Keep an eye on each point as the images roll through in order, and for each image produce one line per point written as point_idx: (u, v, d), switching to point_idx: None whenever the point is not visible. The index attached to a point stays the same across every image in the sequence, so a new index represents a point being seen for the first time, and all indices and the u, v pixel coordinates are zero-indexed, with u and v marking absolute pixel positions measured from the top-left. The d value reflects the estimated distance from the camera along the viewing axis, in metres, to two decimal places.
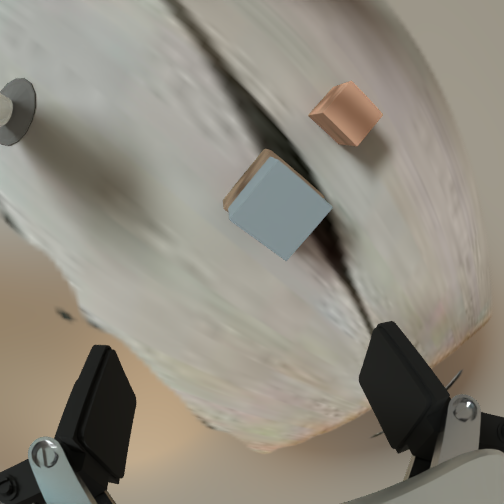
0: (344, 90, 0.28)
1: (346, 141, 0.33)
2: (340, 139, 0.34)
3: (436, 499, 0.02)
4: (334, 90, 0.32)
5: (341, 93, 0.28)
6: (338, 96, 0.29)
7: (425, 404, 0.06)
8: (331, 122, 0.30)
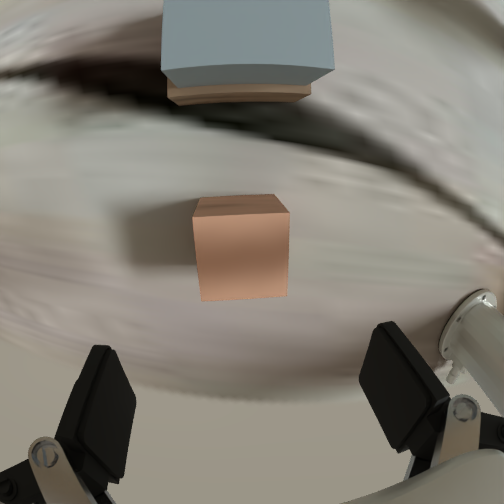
0: (285, 274, 0.19)
1: (206, 209, 0.19)
2: (212, 204, 0.20)
3: (436, 499, 0.02)
4: None
5: (286, 266, 0.19)
6: (286, 257, 0.19)
7: (425, 404, 0.06)
8: (261, 212, 0.18)
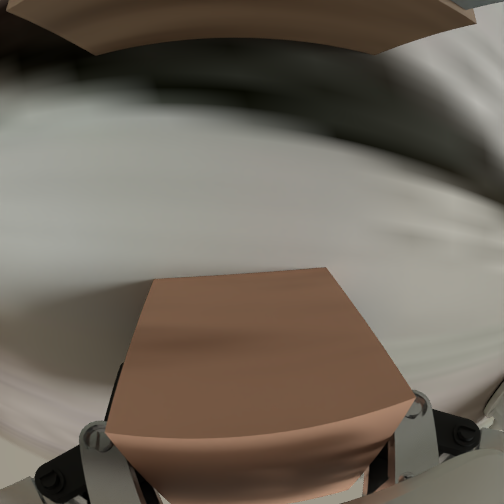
0: (356, 475, 0.06)
1: (155, 365, 0.06)
2: (175, 326, 0.07)
3: (436, 499, 0.02)
4: None
5: (363, 468, 0.06)
6: (369, 460, 0.06)
7: None
8: (334, 405, 0.05)
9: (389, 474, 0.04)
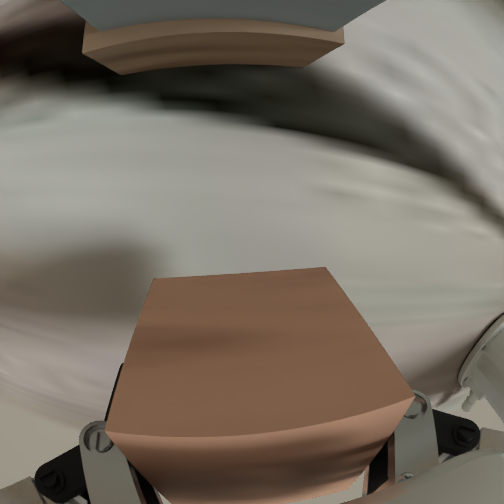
0: (356, 474, 0.06)
1: (155, 364, 0.06)
2: (175, 325, 0.07)
3: (436, 499, 0.02)
4: None
5: (362, 467, 0.06)
6: (369, 459, 0.06)
7: None
8: (332, 404, 0.05)
9: (389, 474, 0.04)
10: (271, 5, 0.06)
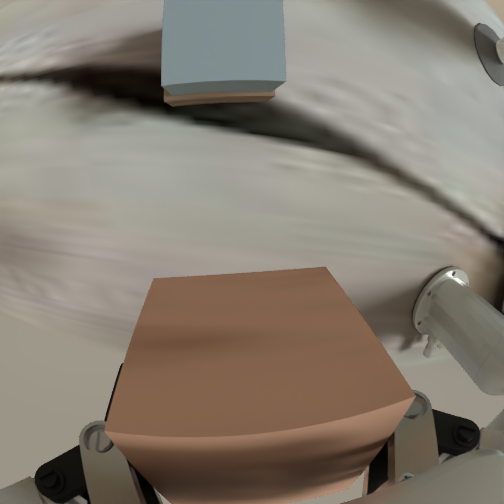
0: (356, 474, 0.06)
1: (155, 364, 0.06)
2: (175, 325, 0.07)
3: (436, 499, 0.02)
4: None
5: (363, 468, 0.06)
6: (369, 459, 0.06)
7: None
8: (333, 404, 0.05)
9: (389, 474, 0.04)
10: (242, 88, 0.19)
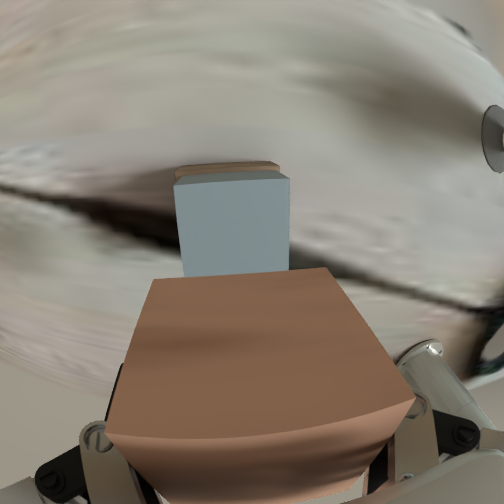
0: (356, 475, 0.06)
1: (155, 365, 0.06)
2: (175, 326, 0.07)
3: (436, 499, 0.02)
4: None
5: (363, 468, 0.06)
6: (369, 460, 0.06)
7: None
8: (333, 405, 0.05)
9: (389, 474, 0.04)
10: None
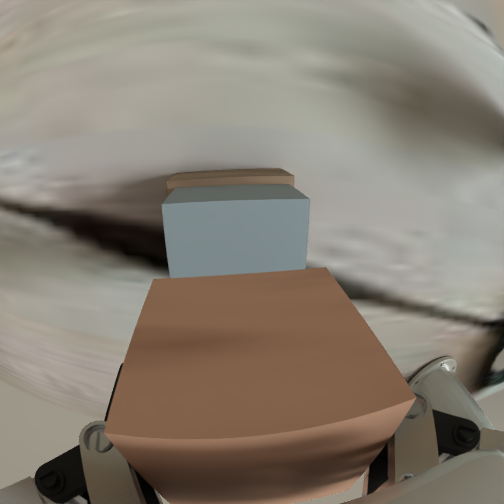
0: (356, 475, 0.06)
1: (155, 365, 0.06)
2: (175, 326, 0.07)
3: (436, 499, 0.02)
4: None
5: (363, 469, 0.06)
6: (369, 461, 0.06)
7: None
8: (334, 406, 0.05)
9: (389, 474, 0.04)
10: None
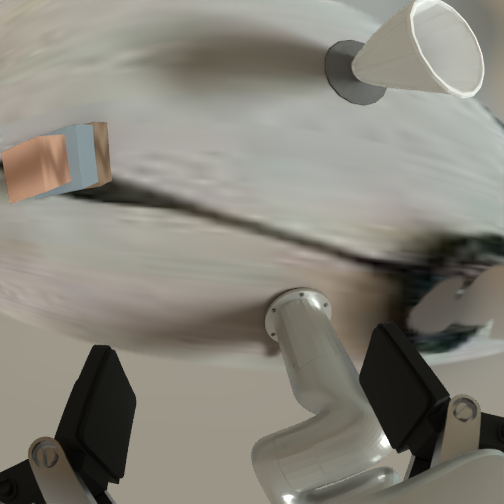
0: (41, 176, 0.22)
1: None
2: None
3: (436, 499, 0.02)
4: (60, 175, 0.25)
5: (40, 170, 0.22)
6: (40, 165, 0.21)
7: (425, 404, 0.06)
8: (28, 141, 0.20)
9: None
10: None
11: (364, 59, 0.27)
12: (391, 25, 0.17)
